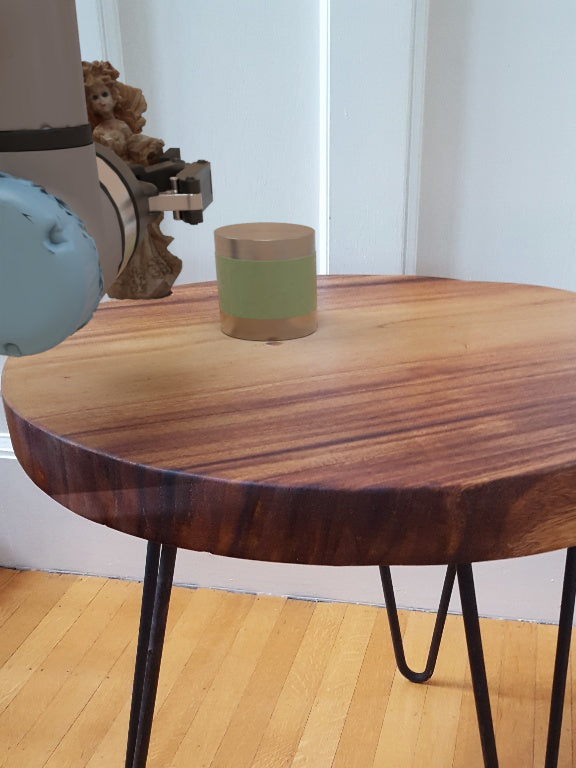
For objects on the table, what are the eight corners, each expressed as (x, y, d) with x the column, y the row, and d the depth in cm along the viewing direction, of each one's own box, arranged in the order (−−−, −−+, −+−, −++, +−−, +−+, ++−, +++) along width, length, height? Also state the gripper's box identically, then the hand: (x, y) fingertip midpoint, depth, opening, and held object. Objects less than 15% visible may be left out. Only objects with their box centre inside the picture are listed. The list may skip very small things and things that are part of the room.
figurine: (85, 305, 69) (46, 61, 61) (86, 287, 74) (50, 59, 66) (188, 299, 71) (163, 60, 63) (182, 282, 76) (158, 58, 67)
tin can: (209, 338, 92) (201, 238, 87) (233, 314, 100) (227, 220, 95) (308, 343, 91) (305, 241, 86) (324, 317, 99) (323, 223, 94)
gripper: (-86, 289, 55) (16, 220, 74) (243, 289, 56) (260, 221, 75) (-122, 140, 51) (-4, 109, 70) (235, 144, 52) (255, 111, 71)
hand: (133, 167), depth 72 cm, fingers closed on figurine, 6 cm apart
